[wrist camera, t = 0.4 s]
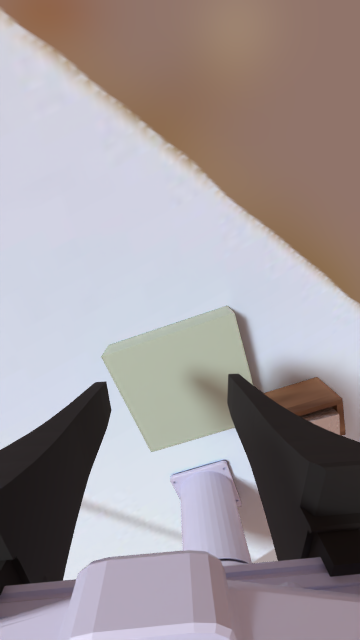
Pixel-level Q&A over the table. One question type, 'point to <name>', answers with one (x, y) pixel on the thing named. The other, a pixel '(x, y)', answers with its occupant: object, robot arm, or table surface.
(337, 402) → the brown box
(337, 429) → the lid plate
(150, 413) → the stand
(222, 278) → the table surface
